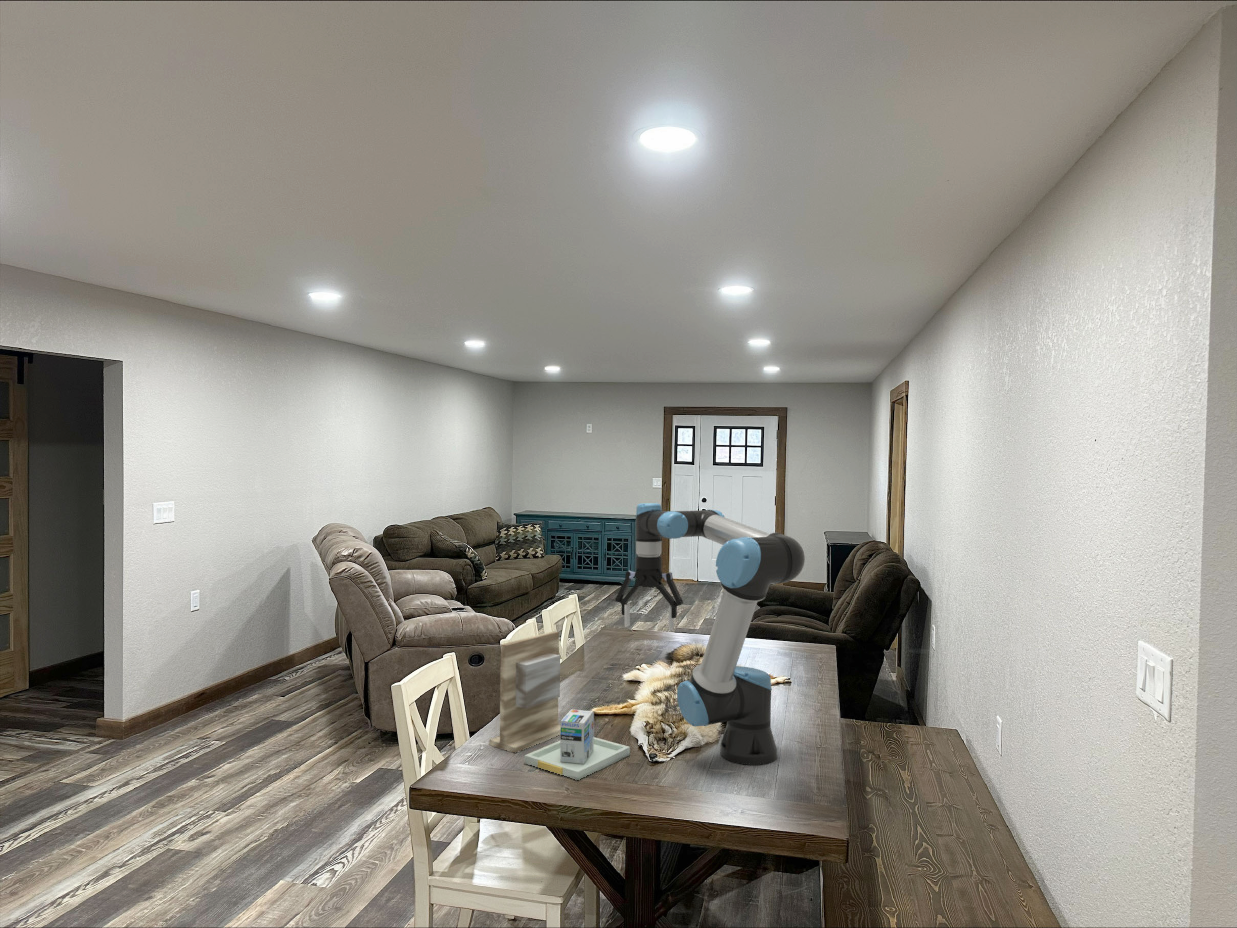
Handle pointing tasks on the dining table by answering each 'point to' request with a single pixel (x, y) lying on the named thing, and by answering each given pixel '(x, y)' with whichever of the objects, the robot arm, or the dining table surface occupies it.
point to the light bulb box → (577, 736)
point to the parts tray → (598, 760)
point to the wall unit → (529, 692)
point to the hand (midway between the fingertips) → (648, 627)
